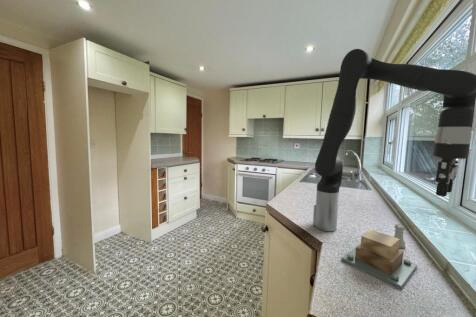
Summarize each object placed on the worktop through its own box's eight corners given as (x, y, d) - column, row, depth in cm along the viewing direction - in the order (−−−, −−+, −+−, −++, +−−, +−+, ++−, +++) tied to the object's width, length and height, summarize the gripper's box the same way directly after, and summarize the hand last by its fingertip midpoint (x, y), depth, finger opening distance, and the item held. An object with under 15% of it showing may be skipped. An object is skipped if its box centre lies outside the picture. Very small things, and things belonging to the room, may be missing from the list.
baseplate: (341, 260, 67) (341, 255, 67) (361, 245, 76) (362, 241, 76) (400, 289, 54) (401, 283, 54) (416, 267, 64) (417, 262, 63)
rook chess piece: (390, 241, 80) (392, 221, 79) (405, 245, 77) (407, 225, 77) (390, 245, 77) (392, 225, 76) (405, 249, 74) (407, 229, 73)
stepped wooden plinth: (355, 258, 66) (356, 235, 65) (367, 249, 72) (369, 227, 71) (391, 275, 58) (394, 249, 57) (402, 263, 64) (404, 239, 63)
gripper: (439, 141, 68) (432, 188, 70) (429, 141, 60) (421, 194, 62) (473, 143, 62) (464, 193, 64) (467, 142, 54) (457, 200, 56)
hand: (443, 193), depth 63 cm, fingers open, 8 cm apart
